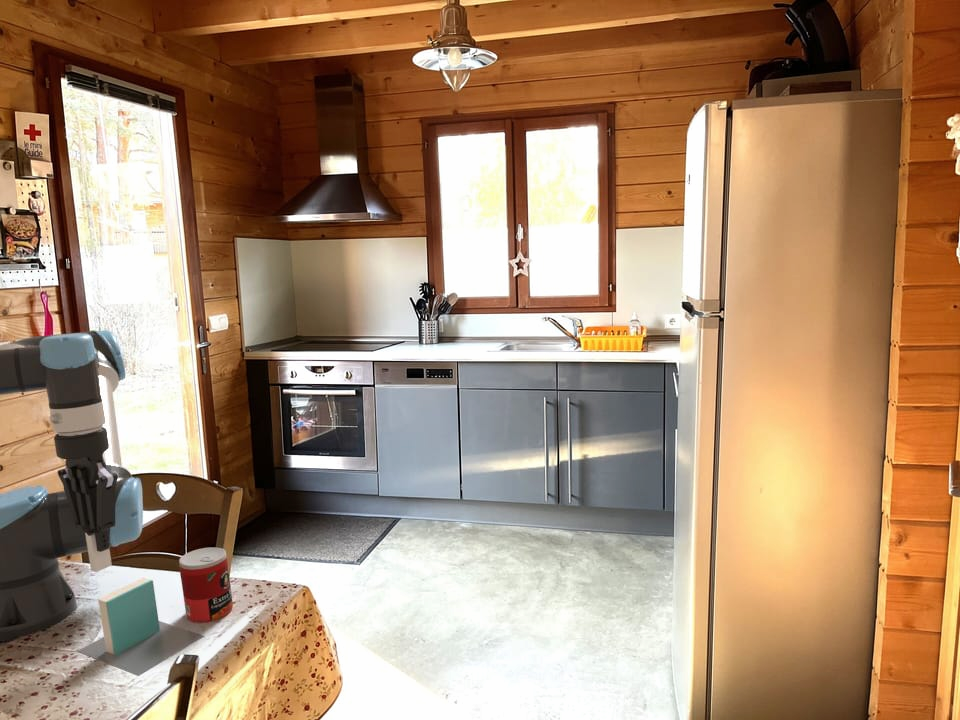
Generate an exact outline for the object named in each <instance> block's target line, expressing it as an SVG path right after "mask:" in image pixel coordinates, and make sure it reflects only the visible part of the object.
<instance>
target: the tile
mask: <svg viewBox="0 0 960 720" xmlns="http://www.w3.org/2000/svg"><path fill="white" fill-rule="evenodd" d="M97 602H98V607H99V608H98V609H99V615H100V619H101V626H102V627H101V628H102V632H103V637H104V640H105V646H106V652H109V653H112V654H114V655H117V654H119V653H120V652H122V651H124V650H126V649H128V648H129V647H131V646H133V645H135V644H136V643H138V642H140V641H142V640H144V639H145V638H147V637H149V636H151V635H153V634H154V633H156V632H158V631H160V627H159V621H160V619H159V614H158V606H157V600H156V593H155V587H154V580H153V579H149V578H146V577H142V578H140V579H138V580H136V581H135V582H132V583H129V584H128V585H125V586H123V587H121V588H119V589H117V590H114V591H113V592H111V593H108V594H106V595H105V596H102V597H100V598H98V600H97Z"/></svg>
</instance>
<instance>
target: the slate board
mask: <svg viewBox="0 0 960 720" xmlns="http://www.w3.org/2000/svg"><path fill="white" fill-rule="evenodd" d="M159 627H160V631H158V632H156V633H154V634H153V635H151V636H149V637H147V638H145V639H144V640H142V641H140V642H138V643H136V644H135V645H133V646H131V647H129V648H128V649H126V650H124V651H122V652H120V653H119V654H117V655H114V654H112V653H109V652H106V646H105V640H104V636H103V637H101V638H99V639H97V640H95V641H94V642H90V643H89V644H88V645H86V646H84V647H82V648H80V649H78V650H76V652H77V653H80V654H82V655H85V656H88V657H91V658H92V659H96V660H98V661H100V662H103V663H105V664H108V665H111V666H113V667H116V668H118V669H121V670H122V671H126V672H129V674H130V673H131V674H133V675H136V676H138V677H139V676H141V675H143V674H145V673H146V672H148V671H149V670H151V669H153V668H155V667H156V666H158V665H159V664H161V663H162V662H164V661H165V660H167V659H169V658H171V657H173V656H174V655H176V654H178V653H179V652H181V651H183V650H184V649H185V648H187V647H189V646H191V645H193V644H194V643H195V642H197V641H199V640H200V639H203V638H205V635H203V634H201V633H197V632H194V631H191V630H187V629H184V628H182V627H180V626H176V625H173V624H169V623H166V622H164V621H161V620H159Z"/></svg>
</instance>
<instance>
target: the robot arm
mask: <svg viewBox="0 0 960 720" xmlns="http://www.w3.org/2000/svg"><path fill="white" fill-rule="evenodd" d="M120 347H121V346H120V344H119V342H118V339H117V337H116V335H115V333H113V331H111V330H107V329H106V330H95V329H92V330H90V331H81V332H72V333H63V334H62V333H60V334H59V333H58V334H48V335H43V336H42V335H40V336H39V335H38V336H31V337H26V338H22V339H18V340H15V341H12V342H8V343H5V344H3V343H2V344H0V396H4V395H11V394H18V393H19V394H20V393H28V392H29V393H30V392H37V391H44V390H46V393H47V398H48V399H47V400H48V407H49V413H50V414H49V415H50V416H49V417H48V418H49V421H50V422H51V426H52V431H53V432H54V433H56V434H55V436H54V437H53V441H54V448H55V453H56V457H58V458H59V459H62V460H65V467H64V468H62V469H58V470H57V476H58V478H59V480H60V481H61V484H62V485H63V490H61V491H55V492H51V493H49V491H48V489H47V488H46V486H43V485H34V486H32V485H31V486H25V487H21V488H20V487H19V488H17V489H14V490H10V491H8V492H7V491H6V492H5V493H1V494H0V641H6V642H12V641H15V640H17V639H19V638H22V637H27V636H30V635H33V634H36V633H39V632H41V631H44V630H47V629H50V628H51V627H53V626H55V625H57V624H59V623H61V622H62V621H64V620H65V619H68V617H69V616H71V614H73V613H75V612H76V611H77V607H78V606H77V598H76V594H75V592H74V590H73V589H72V587H71V585H70V584H69V582H68V581H67V579H66V577H65V576H64V574H63V573H62V571H61V569H60V564H59V559H60V558H63V557H69V556H72V555H78V554H81V553H87V552H88V554H87V555H88V559H89V560H88V561H89V566H90V571H92V572H94V573H95V572H96V573H98V572H100V571H102V570H104V569H107V568H108V567H111V566H113V565H112V557H111V551H110V550H111V549H110V548H111V547H113V548H114V547H118V546H119V545H122V544H126V543H129V542H133V541H135V540H138V538H139V537H140V536H141V534H142V531H143V525H144V524H143V522H144V505H143V499H144V498H143V485H142V481H141V478H139V477H133V476H132V473H131V471H130V470H128V469H127V468H126V467H124V466H123V463H122V456H121V448H120V439H119V433H118V425H117V416H116V410H115V409H116V408H115V401H114V395H113V394H114V392H115V391H116V389H117V388H118V386H119V382H120V381H123V380H125V378H126V369H125V364H124V358H123V356H122V352H121V348H120Z"/></svg>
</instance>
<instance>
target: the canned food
mask: <svg viewBox="0 0 960 720" xmlns="http://www.w3.org/2000/svg"><path fill="white" fill-rule="evenodd" d="M178 562H179V563H178V565H179V573H180V581H181V588H182V595H183V604H184V608H185V616H186V618H187V620H188V621H190V622H192V623H195V624H196V623H197V624H202V623H203V624H204V623H211V622H215V621H218V620H220V619H222V618H224V617H226V616H228V615H229V614H230V613H231V612H232V610H233V607H234V604H233V594H232V588H231V578H230V571H229V562H228V555H227V552H226V549H224V548H221V547H216V546H215V547H210V546H209V547H203V548H198V549H195V550H192V551H189V552H187V553H185V554H183V555H182V556H181V557H179V559H178Z"/></svg>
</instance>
